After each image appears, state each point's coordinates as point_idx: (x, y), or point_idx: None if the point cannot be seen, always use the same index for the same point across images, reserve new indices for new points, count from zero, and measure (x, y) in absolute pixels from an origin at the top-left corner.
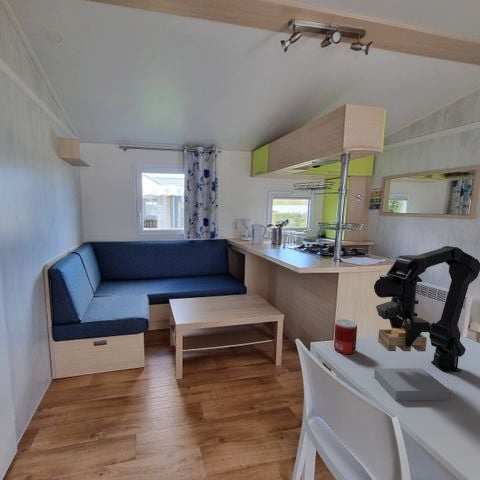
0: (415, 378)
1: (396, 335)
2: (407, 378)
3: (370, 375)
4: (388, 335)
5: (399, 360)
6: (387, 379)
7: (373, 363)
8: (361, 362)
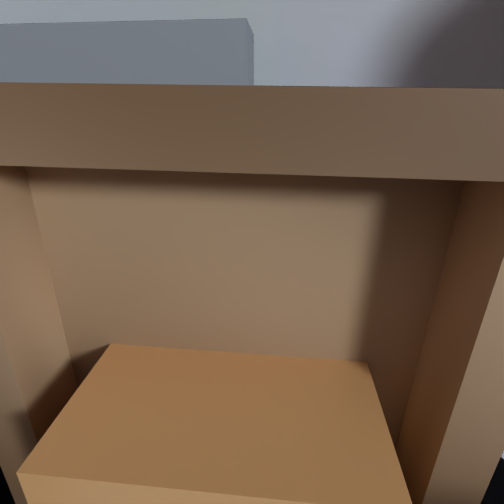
0: None
1: (139, 382)
2: None
3: (280, 17)
4: (20, 140)
5: None
6: (81, 43)
7: None
8: (480, 39)
